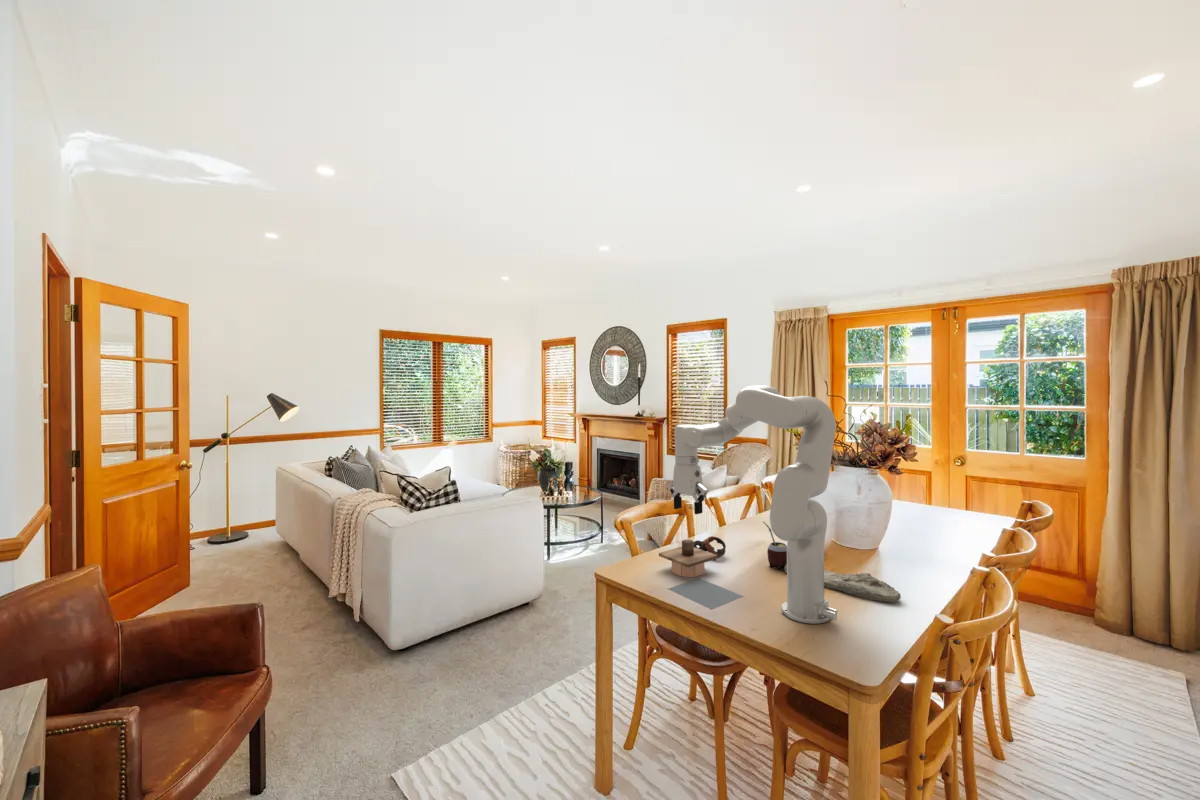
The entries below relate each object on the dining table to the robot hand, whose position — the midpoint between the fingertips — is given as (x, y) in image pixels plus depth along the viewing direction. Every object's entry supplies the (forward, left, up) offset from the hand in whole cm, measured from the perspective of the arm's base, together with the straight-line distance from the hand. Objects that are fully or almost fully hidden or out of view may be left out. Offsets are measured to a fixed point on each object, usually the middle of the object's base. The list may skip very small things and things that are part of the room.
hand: (687, 511), depth 168 cm
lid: (0, 0, -16) cm, 16 cm away
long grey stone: (-37, -28, -22) cm, 51 cm away
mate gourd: (-16, -27, -21) cm, 38 cm away
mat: (-16, +9, -21) cm, 28 cm away
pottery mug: (+6, -17, -21) cm, 28 cm away
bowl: (0, 0, -21) cm, 21 cm away
